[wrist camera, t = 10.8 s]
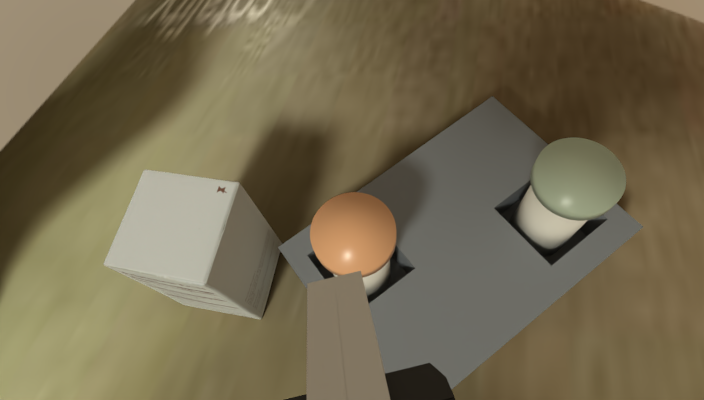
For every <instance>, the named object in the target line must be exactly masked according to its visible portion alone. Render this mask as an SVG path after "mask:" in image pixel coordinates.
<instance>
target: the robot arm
mask: <svg viewBox="0 0 704 400" xmlns="http://www.w3.org/2000/svg"><path fill="white" fill-rule="evenodd" d="M285 400H455V398H454V395H453V392H452V390H451V388H450V385H449V383H448V380H447V378H446V377H445V376H444V375H443V374H442V373H441V372H440V371H439V370H438V369H436V368H435V367H434V366H433V365H432V364H431V363H426V364H422V365H418V366H414V367H410V368H406V369H402V370H398V371H394V372H389V373H385V371H384V366H383V362H382V358H381V353H380V349H379V345H378V341H377V337H376V332H375V328H374V324H373V320H372V316H371V311H370V307H369V303H368V299H367V295H366V291H365V286H364V282H363V278H362V274H361V271H357V272H353V273H349V274H345V275H340V276H336V277H332V278H328V279H324V280H320V281H315V282H311V283H307V394H306V395H302V396H297V397H293V398H289V399H285Z"/></svg>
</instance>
